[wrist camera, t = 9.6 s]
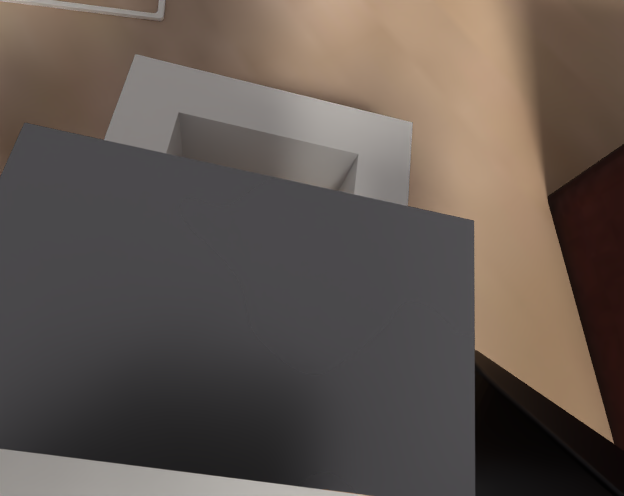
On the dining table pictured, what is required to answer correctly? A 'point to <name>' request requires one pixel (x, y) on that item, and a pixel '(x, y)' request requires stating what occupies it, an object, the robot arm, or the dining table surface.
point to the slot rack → (240, 155)
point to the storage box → (598, 271)
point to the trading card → (97, 8)
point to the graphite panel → (231, 323)
